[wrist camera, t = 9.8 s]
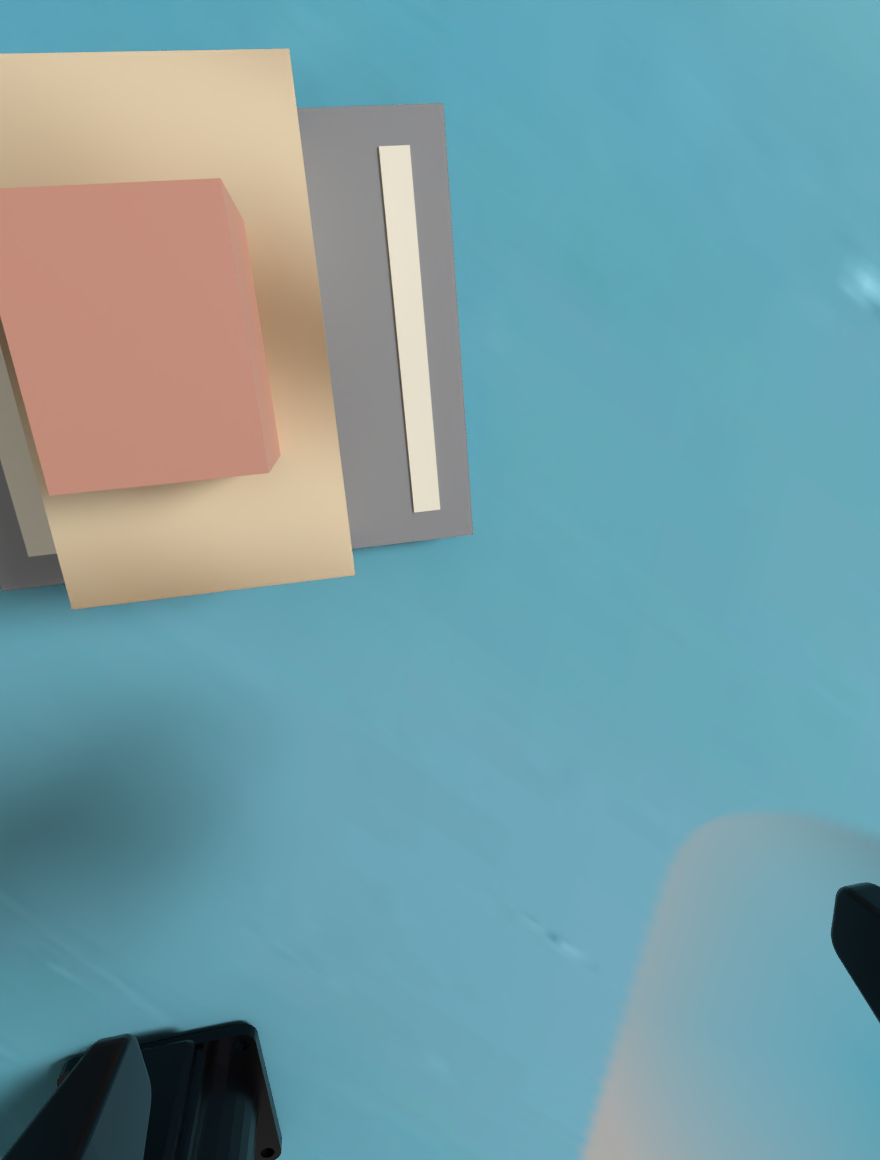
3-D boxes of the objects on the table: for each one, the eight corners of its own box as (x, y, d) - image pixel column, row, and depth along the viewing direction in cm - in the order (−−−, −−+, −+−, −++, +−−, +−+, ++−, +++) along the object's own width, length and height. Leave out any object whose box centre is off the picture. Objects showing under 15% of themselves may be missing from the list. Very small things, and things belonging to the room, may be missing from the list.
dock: (464, 525, 19) (473, 535, 18) (24, 577, 17) (1, 592, 16) (435, 123, 16) (444, 102, 14) (-105, 143, 14) (-145, 122, 13)
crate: (280, 454, 12) (268, 473, 10) (104, 472, 12) (49, 495, 10) (244, 220, 11) (220, 178, 9) (46, 231, 11) (-34, 190, 8)
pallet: (349, 531, 17) (354, 575, 13) (132, 556, 16) (72, 609, 13) (300, 136, 14) (289, 48, 10) (35, 145, 14) (-79, 56, 10)
